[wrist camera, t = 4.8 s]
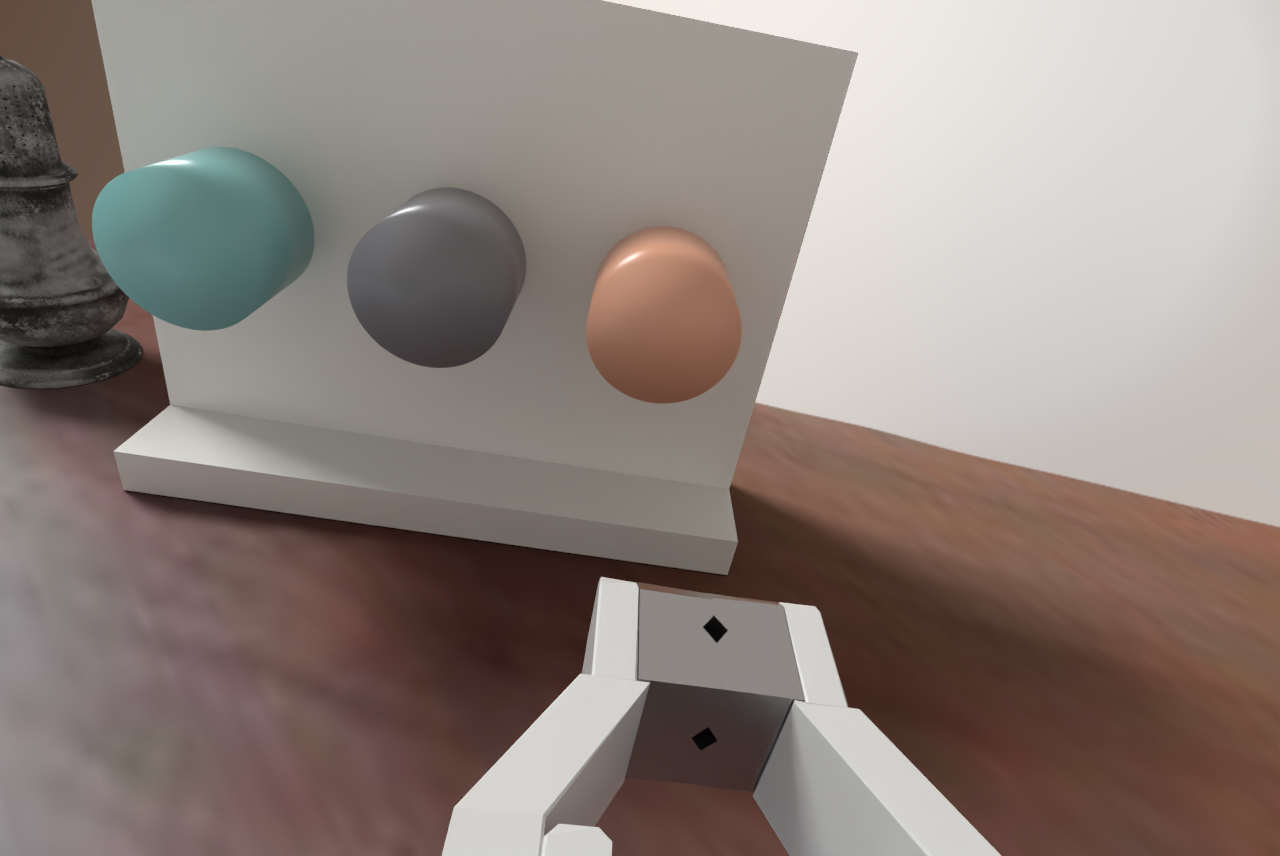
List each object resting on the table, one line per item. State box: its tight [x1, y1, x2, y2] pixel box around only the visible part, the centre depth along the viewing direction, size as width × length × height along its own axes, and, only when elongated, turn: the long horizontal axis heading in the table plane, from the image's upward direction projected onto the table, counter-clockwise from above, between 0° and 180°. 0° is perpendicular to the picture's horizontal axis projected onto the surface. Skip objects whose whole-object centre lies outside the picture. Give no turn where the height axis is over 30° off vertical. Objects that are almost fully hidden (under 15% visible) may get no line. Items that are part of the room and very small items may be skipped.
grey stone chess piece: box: [0, 55, 142, 389], centre depth 25 cm, size 6×6×12 cm
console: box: [92, 0, 858, 575], centre depth 22 cm, size 20×6×16 cm, turn 89°
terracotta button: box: [586, 226, 742, 404], centre depth 19 cm, size 4×3×4 cm
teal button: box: [92, 147, 314, 331], centre depth 18 cm, size 4×3×4 cm
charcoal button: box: [347, 187, 526, 368], centre depth 19 cm, size 4×3×4 cm
